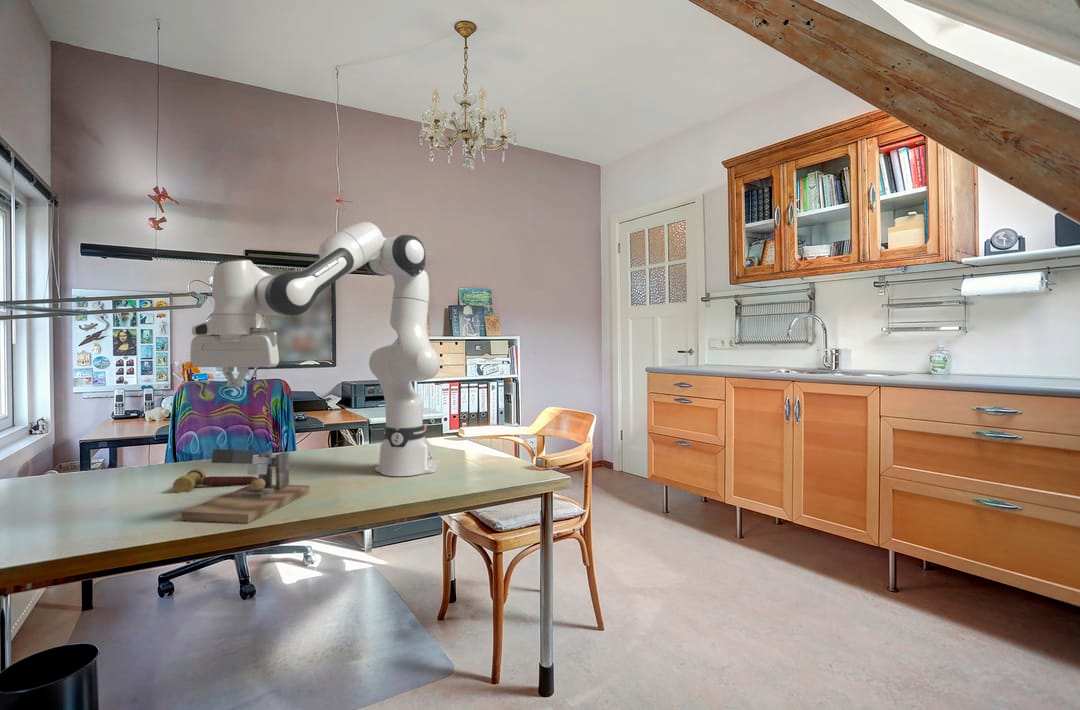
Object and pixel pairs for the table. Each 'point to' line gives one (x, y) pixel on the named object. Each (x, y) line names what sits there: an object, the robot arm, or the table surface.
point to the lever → (244, 460)
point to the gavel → (207, 480)
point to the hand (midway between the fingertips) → (235, 386)
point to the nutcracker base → (251, 497)
